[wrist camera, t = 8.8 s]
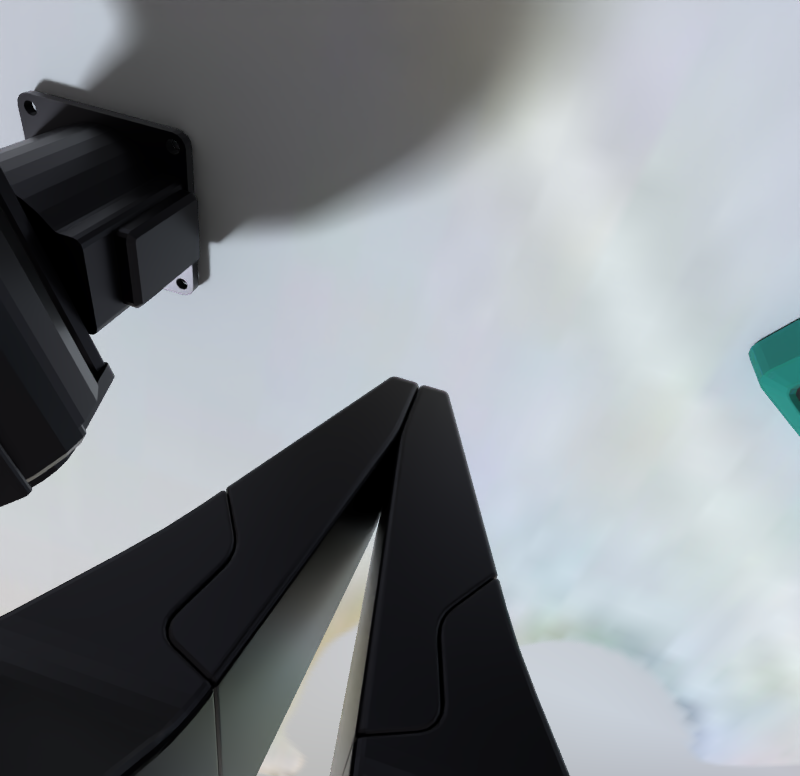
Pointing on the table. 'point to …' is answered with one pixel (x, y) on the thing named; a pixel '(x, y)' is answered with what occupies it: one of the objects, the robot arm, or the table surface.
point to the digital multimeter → (780, 370)
